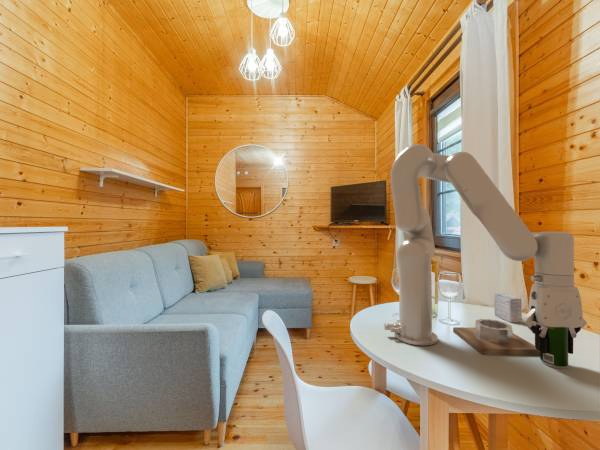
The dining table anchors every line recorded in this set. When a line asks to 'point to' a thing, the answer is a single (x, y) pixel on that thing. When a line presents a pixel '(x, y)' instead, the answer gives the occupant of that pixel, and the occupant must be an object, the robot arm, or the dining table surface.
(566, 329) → the beer can
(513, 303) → the medicine box
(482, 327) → the can sleeve
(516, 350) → the walnut stand
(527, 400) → the dining table surface
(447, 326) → the dining table surface
